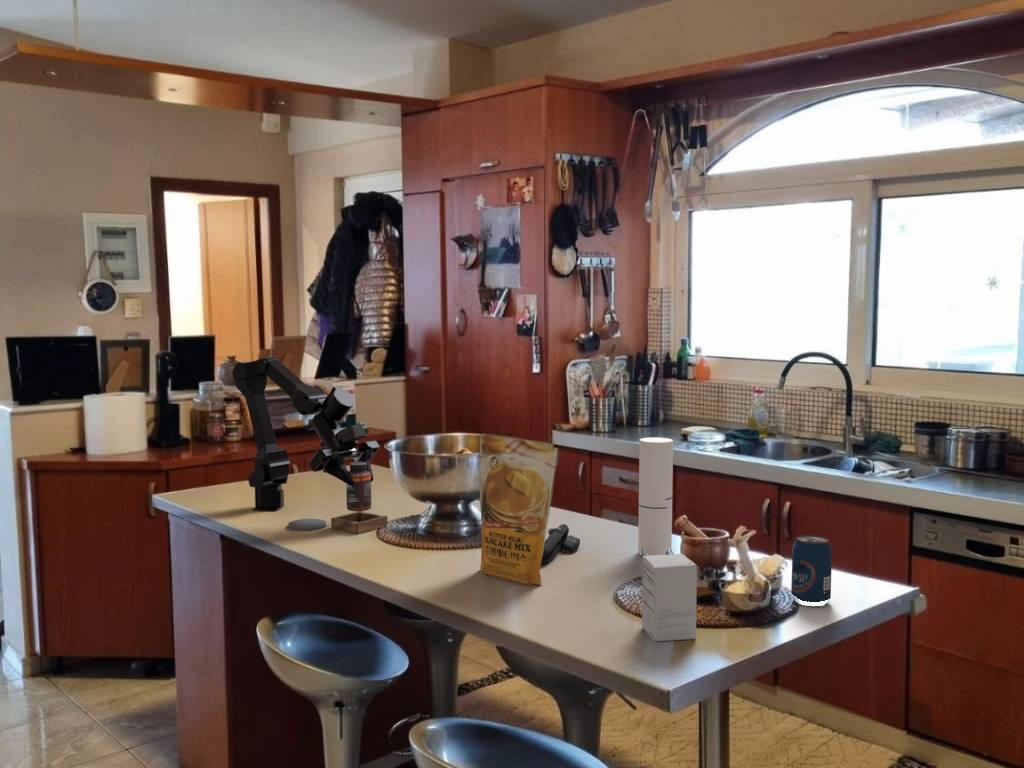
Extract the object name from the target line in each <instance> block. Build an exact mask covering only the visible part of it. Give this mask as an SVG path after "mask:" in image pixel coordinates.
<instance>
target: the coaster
mask: <svg viewBox="0 0 1024 768" xmlns="http://www.w3.org/2000/svg"><path fill="white" fill-rule="evenodd" d="M287 526H288V527H289V528H290V529H289V528H288V529H289V530H292V529H293V531H298V530H301V531H300V532H302V531H303V532H305V531H317V530H321V529H323V528H324V529H325V528H326V526H327V522H326V520H324V519H320V518H302V519H295V520H291V521H289V522H288V523H287Z"/></svg>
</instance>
